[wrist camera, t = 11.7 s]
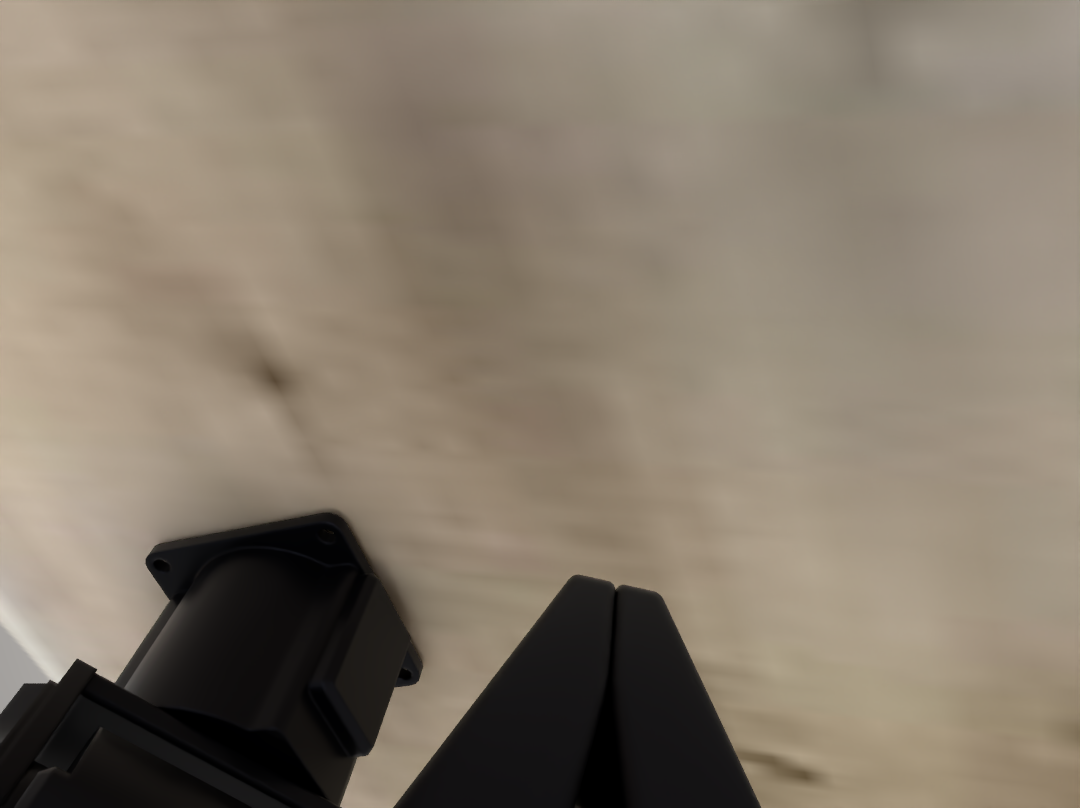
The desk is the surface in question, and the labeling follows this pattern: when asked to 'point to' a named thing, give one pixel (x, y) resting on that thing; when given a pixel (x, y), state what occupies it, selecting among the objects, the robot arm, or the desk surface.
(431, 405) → the desk surface
